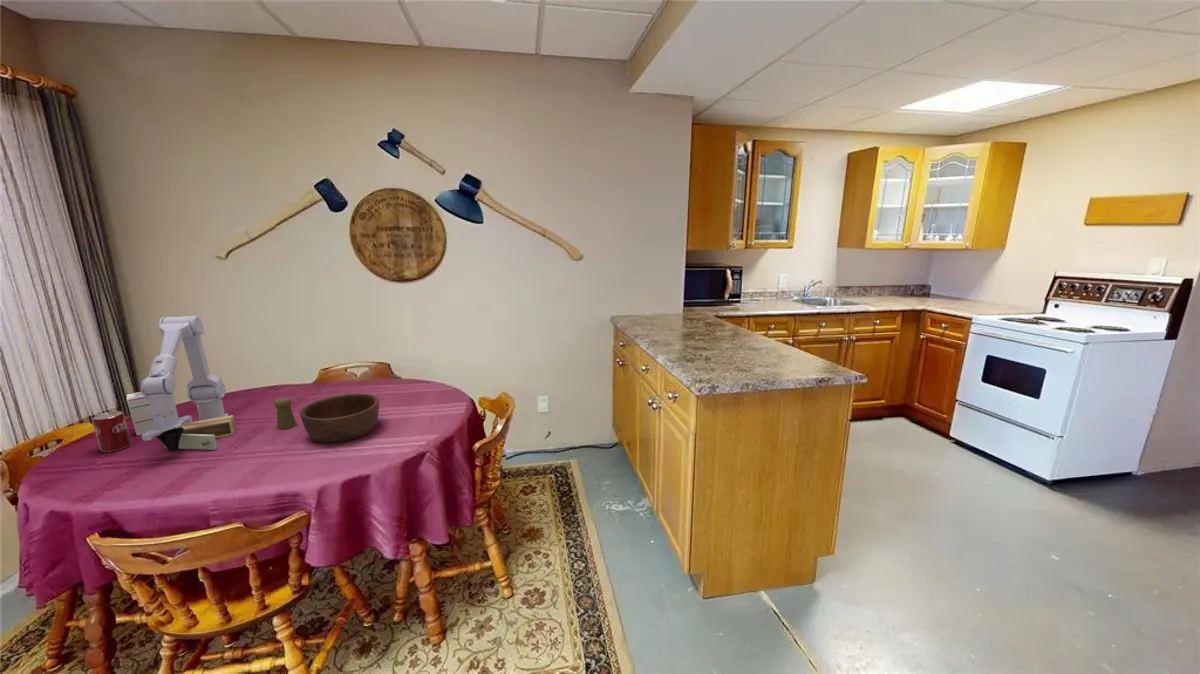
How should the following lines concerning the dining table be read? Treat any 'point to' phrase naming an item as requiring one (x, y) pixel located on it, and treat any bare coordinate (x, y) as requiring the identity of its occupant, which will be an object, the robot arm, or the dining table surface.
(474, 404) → the dining table surface
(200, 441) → the cabinet door
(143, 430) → the syrup box
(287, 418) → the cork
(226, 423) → the cabinet
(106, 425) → the soda can
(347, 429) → the wooden bowl
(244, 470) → the dining table surface
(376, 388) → the dining table surface
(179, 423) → the robot arm
